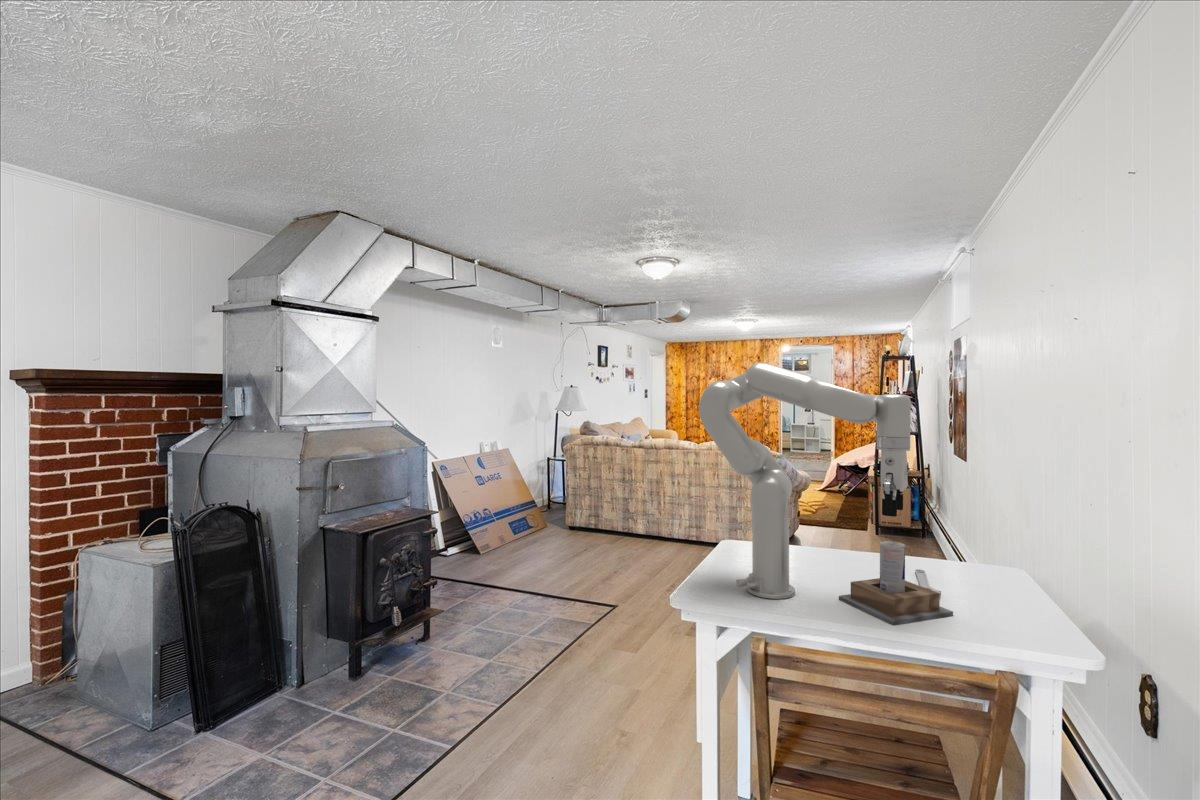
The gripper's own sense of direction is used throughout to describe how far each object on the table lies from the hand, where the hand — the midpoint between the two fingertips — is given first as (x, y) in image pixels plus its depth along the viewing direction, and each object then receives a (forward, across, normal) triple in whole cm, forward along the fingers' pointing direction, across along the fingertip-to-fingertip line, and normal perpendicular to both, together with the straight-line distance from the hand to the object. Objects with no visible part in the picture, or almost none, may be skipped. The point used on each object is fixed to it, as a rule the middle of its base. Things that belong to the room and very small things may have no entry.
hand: (892, 512), depth 147 cm
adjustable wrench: (+24, +23, -5) cm, 34 cm away
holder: (+24, 0, 0) cm, 24 cm away
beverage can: (+23, 0, 0) cm, 23 cm away
